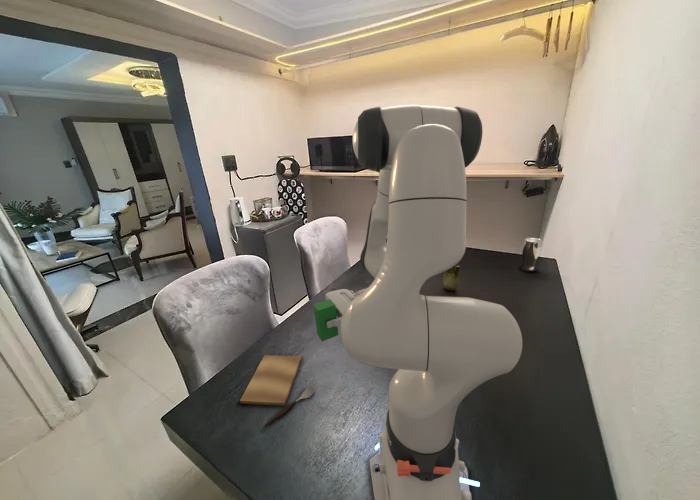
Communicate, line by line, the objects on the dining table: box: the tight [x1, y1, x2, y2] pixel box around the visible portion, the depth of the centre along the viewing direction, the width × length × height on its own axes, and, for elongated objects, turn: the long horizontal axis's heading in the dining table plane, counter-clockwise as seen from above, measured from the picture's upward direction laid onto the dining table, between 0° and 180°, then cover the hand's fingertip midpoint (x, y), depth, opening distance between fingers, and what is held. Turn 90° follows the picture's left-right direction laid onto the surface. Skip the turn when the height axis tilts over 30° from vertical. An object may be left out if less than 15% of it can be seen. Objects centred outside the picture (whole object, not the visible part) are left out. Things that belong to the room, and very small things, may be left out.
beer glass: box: [519, 237, 543, 273], centre depth 123 cm, size 7×7×15 cm
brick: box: [312, 299, 339, 342], centre depth 72 cm, size 5×4×10 cm
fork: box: [263, 378, 320, 428], centre depth 66 cm, size 3×16×2 cm, turn 134°
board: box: [239, 354, 303, 407], centre depth 75 cm, size 16×12×1 cm
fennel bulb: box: [442, 265, 461, 292], centre depth 111 cm, size 6×5×12 cm
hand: (322, 319), depth 72 cm, fingers closed on brick, 3 cm apart
